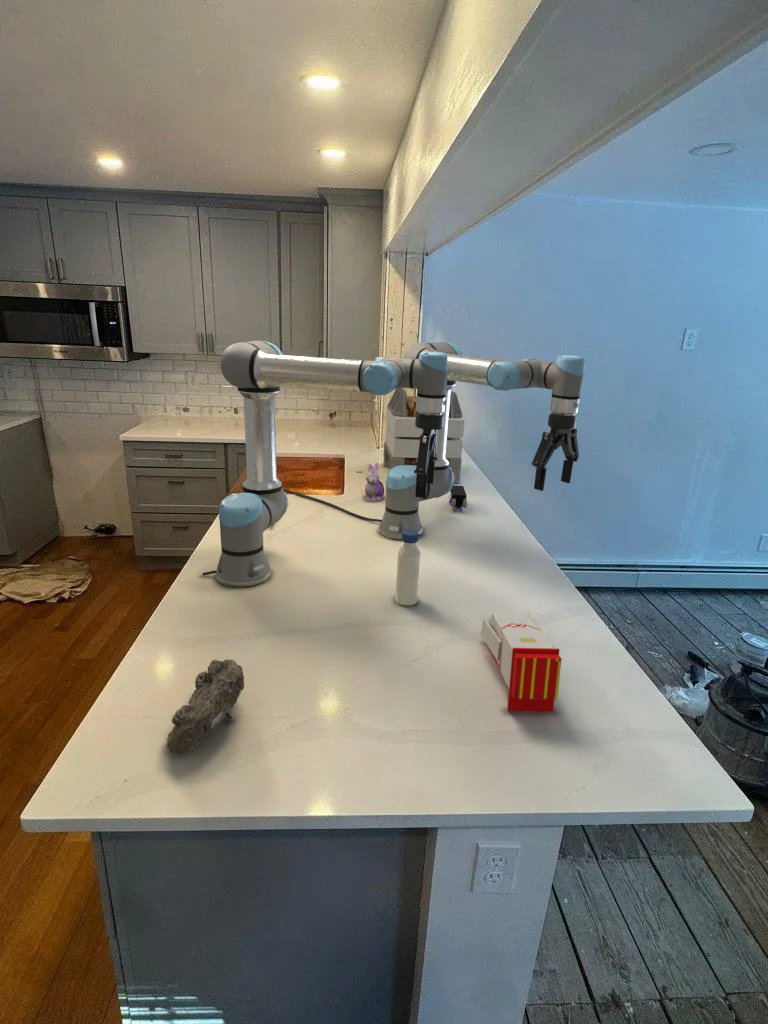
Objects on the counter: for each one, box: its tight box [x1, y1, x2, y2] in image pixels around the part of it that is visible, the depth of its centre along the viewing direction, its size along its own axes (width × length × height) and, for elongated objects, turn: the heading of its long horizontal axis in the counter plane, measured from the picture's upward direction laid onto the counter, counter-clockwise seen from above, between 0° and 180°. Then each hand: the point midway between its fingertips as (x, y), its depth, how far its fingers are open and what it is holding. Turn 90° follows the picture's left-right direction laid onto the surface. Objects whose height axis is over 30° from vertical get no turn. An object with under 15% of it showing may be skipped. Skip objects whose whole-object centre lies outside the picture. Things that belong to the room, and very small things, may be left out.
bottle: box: [394, 542, 421, 607], centre depth 151 cm, size 6×6×20 cm
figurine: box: [364, 462, 385, 502], centre depth 233 cm, size 9×10×15 cm
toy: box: [480, 612, 562, 713], centre depth 124 cm, size 12×13×30 cm
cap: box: [401, 529, 420, 544], centre depth 148 cm, size 4×4×2 cm
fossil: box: [166, 658, 245, 754], centre depth 106 cm, size 22×10×15 cm
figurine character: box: [448, 484, 468, 512], centre depth 228 cm, size 7×8×15 cm
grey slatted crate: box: [383, 388, 465, 484], centre depth 268 cm, size 34×33×41 cm
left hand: (424, 489), depth 156 cm, fingers open, 13 cm apart
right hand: (552, 485), depth 166 cm, fingers open, 13 cm apart
